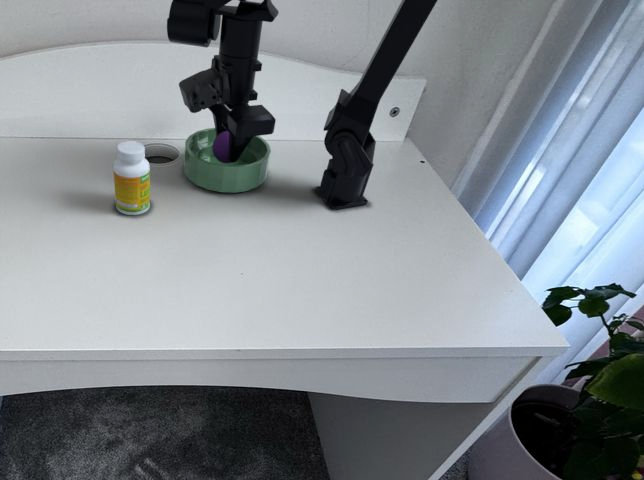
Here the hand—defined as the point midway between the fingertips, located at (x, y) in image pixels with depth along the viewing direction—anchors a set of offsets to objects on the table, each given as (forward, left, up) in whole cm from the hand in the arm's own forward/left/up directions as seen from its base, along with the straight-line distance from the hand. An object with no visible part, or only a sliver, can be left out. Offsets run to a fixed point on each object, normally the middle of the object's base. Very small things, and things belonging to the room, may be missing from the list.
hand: (227, 154), depth 85 cm
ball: (0, 0, +1) cm, 1 cm away
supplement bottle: (+18, +6, -4) cm, 19 cm away
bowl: (0, 0, -4) cm, 4 cm away
